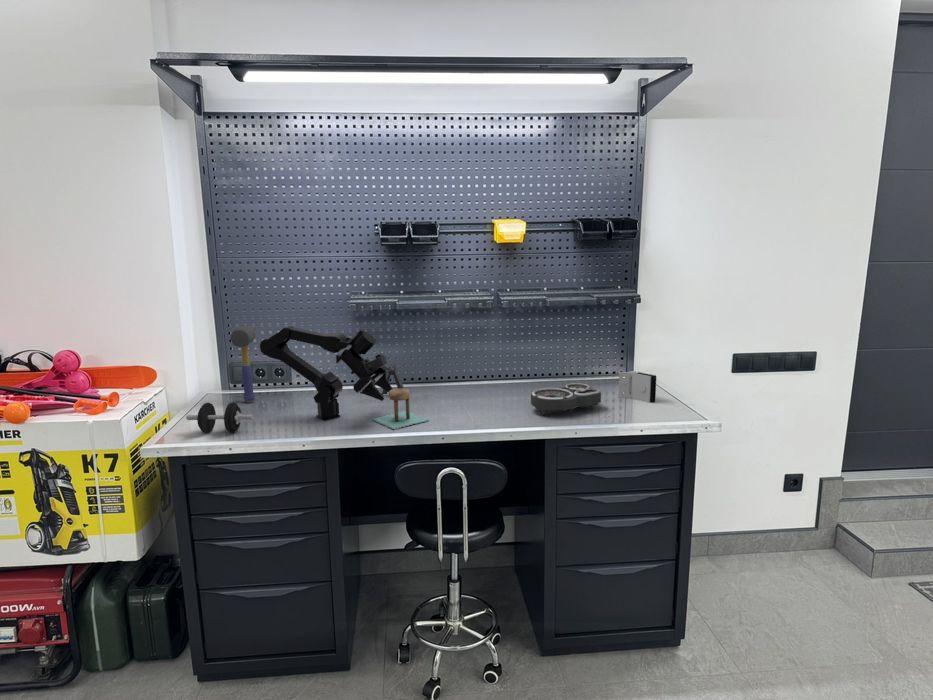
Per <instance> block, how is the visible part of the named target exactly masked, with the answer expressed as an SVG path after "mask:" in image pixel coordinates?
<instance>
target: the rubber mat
mask: <svg viewBox="0 0 933 700" xmlns="http://www.w3.org/2000/svg"><path fill="white" fill-rule="evenodd" d="M409 412H410V419H406V410H404V411H398V417H399V422H395V415H394V413H392V414H391V413H390V414H387V415H383V416H378V417H374V418H372V421H373V420H374V421H373V422H375V421H376V422H375V423H377V422H378V424H379V425H382V424H383V425H382V426H384V425H385V426H384V427H386V426H387V428H388V427H390V428H392V429H396V430H398V429H397V428H400V427H404V428H406V427H405V426H408V427H410V426H409V425H412V426H414V425H413V424H416V425H418V424H417V423H420V424H423V423H422V422H425V423H427V422H426V421H429V422H430V419H428V418H426V417H424V416H421V415H419V414H416V413H414V412H411V411H409ZM390 428H389V429H390ZM392 429H391V430H392ZM400 429H401V428H400Z"/></svg>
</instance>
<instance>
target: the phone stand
mask: <svg viewBox="0 0 933 700" xmlns="http://www.w3.org/2000/svg"><path fill="white" fill-rule="evenodd" d="M392 368H394V369H392ZM397 368H398V366H397V364H396V363H395V362H394V363H390V364H389V366H388V367H387V369H388V370H387V371H388V373H387V379H388V381H389V383H390V381H391V377H392V376H393V378H394V381H395V383H396V387H397V388H396V389H399V388H403V389H405V387H404V384H403V382H402V380H401V377H400V375H399V372H398V369H397ZM381 394H382V395H383V394H387V391H386V390H384V389H382V393H381Z"/></svg>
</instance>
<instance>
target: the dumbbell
mask: <svg viewBox="0 0 933 700" xmlns="http://www.w3.org/2000/svg"><path fill="white" fill-rule="evenodd" d="M216 414H217V413H216V410H215V406H214V405H213V404H212V403H211V402H205V403H203V404H202V405H201V407H199V409H198V413H197V414H187V415H186V417H185V419H186V420H187V421H197V426H198V428H199V429H200V431H201V432H202V433H203V434H210V433H212V431H213V430H214V428H215V425H216V420H223V422H224V428H225V430H226V431H227V432H228V433H230V434H234V433H236V432H237V431H236V430H238V429H239V428H240V426H241V423H242V421H243V420H246V421H247V420H253V419H254V415H253V414H251V413H250V414H247V413H246V414H244V413H243V414H242V409H241V407H240V406H239V405H238V404H237V403H236V402H234V401H233V402H229V403H228V404H227V405H226V407H225V411H224V414H217V415H216ZM235 431H236V432H235ZM209 432H210V433H209Z"/></svg>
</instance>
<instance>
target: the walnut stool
mask: <svg viewBox="0 0 933 700" xmlns="http://www.w3.org/2000/svg"><path fill="white" fill-rule="evenodd" d="M389 400H391V401H393V411H394V413H393V414H394V415H395V422H399V417H398V413H399V401H405V411H406V419H410V412H411V411H410V389H408V388H404V389H403V388H399V389H398V388H392V390H390V391H389Z"/></svg>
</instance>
